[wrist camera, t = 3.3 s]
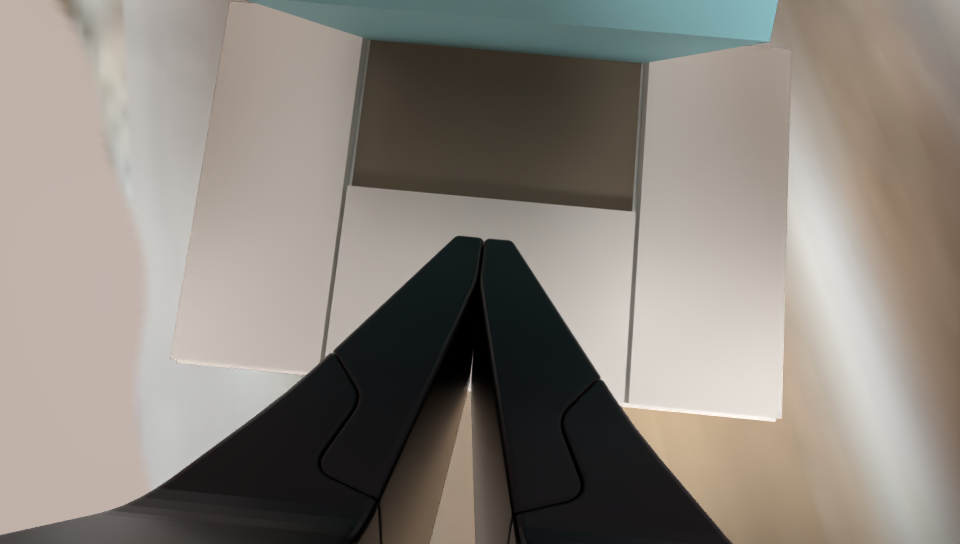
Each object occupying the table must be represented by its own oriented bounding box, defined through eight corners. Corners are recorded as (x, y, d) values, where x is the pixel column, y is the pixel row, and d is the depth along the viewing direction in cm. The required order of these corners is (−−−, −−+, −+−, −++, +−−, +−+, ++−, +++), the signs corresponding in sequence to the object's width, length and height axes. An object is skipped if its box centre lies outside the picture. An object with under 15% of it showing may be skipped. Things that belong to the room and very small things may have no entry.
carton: (726, 412, 17) (785, 423, 14) (223, 362, 18) (160, 361, 14) (738, 104, 19) (795, 45, 15) (269, 63, 19) (222, -4, 16)
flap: (642, 63, 16) (770, 41, 8) (369, 39, 16) (232, -5, 8) (649, 20, 15) (787, -46, 8) (370, -4, 15) (230, -93, 8)
